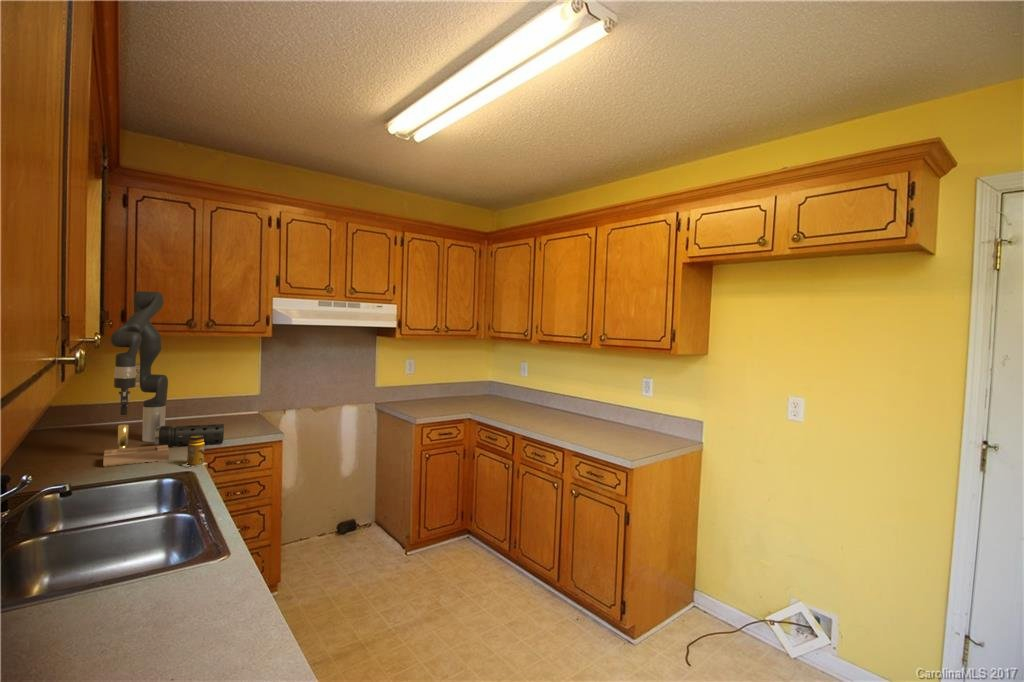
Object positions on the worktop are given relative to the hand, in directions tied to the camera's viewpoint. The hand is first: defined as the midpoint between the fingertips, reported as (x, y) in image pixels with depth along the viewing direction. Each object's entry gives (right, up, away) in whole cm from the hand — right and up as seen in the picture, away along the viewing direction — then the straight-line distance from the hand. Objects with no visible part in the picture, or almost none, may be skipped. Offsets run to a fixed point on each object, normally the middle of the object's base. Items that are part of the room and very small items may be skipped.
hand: (123, 413), depth 216 cm
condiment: (+35, -21, -6) cm, 41 cm away
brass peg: (-1, -19, 0) cm, 19 cm away
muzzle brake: (+13, -20, +25) cm, 34 cm away
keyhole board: (+9, -20, -4) cm, 22 cm away
